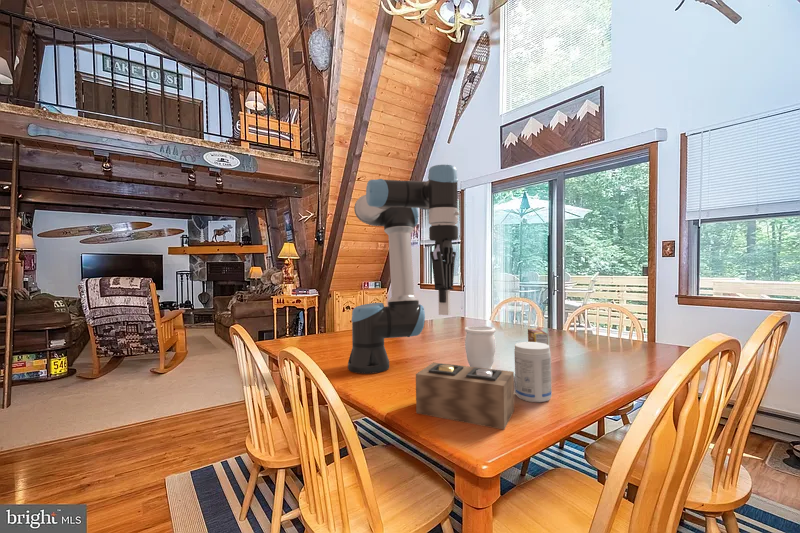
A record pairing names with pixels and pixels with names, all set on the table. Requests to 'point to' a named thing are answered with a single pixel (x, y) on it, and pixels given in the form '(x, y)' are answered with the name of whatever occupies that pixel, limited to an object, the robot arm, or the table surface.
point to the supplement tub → (533, 371)
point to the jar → (480, 346)
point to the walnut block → (466, 395)
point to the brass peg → (446, 368)
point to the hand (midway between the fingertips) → (444, 314)
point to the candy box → (537, 336)
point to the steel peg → (484, 372)
